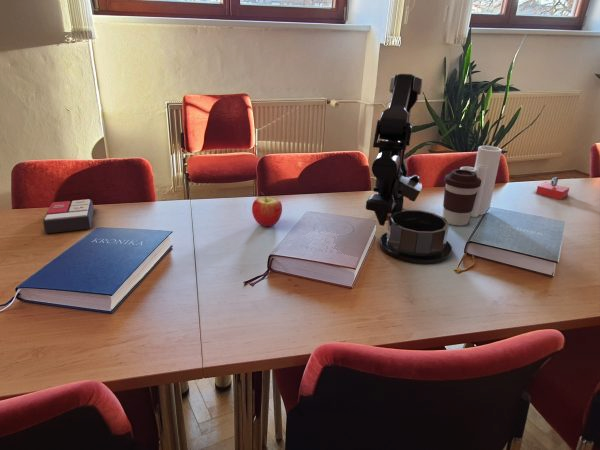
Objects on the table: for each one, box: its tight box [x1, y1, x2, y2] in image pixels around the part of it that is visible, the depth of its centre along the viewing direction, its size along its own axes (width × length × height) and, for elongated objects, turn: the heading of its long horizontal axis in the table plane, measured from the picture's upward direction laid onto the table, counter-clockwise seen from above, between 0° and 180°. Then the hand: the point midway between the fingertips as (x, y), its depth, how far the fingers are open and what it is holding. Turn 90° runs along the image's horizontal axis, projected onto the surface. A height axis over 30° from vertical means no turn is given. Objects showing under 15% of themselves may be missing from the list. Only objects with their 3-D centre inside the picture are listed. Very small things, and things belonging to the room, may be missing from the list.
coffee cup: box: [442, 168, 481, 226], centre depth 128 cm, size 10×10×15 cm
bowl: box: [385, 209, 450, 256], centre depth 114 cm, size 17×14×6 cm
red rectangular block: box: [535, 176, 570, 200], centre depth 154 cm, size 8×7×6 cm
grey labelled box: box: [42, 198, 94, 234], centre depth 124 cm, size 11×4×15 cm
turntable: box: [379, 231, 453, 265], centre depth 114 cm, size 18×18×1 cm
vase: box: [459, 145, 503, 218], centre depth 134 cm, size 11×7×20 cm, turn 111°
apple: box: [251, 191, 283, 227], centre depth 124 cm, size 8×8×10 cm
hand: (383, 223), depth 117 cm, fingers closed on bowl, 2 cm apart
